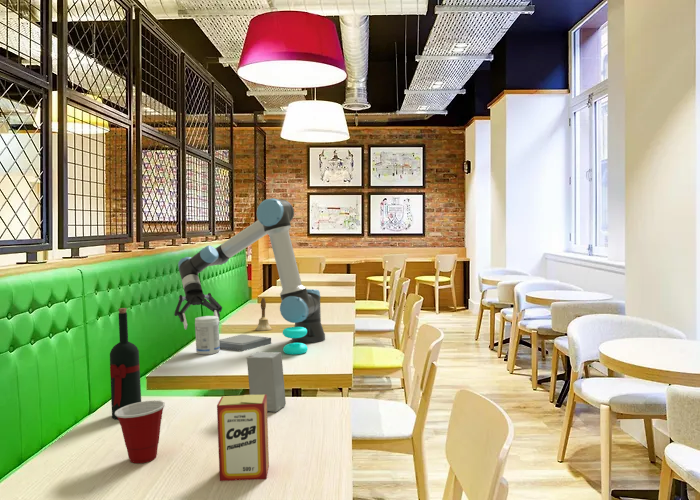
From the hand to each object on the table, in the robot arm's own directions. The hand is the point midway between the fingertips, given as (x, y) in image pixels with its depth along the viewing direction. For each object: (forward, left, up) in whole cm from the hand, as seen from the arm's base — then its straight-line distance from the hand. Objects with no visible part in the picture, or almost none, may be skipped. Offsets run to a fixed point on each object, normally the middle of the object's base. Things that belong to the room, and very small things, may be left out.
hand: (202, 325), depth 252 cm
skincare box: (-78, +47, -11) cm, 92 cm away
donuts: (-37, -16, -11) cm, 42 cm away
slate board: (-6, -17, -11) cm, 21 cm away
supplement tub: (-4, +1, -11) cm, 12 cm away
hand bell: (+13, -52, -11) cm, 55 cm away
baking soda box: (-104, +83, -11) cm, 133 cm away
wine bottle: (-48, +72, -11) cm, 87 cm away
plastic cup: (-78, +89, -11) cm, 119 cm away
